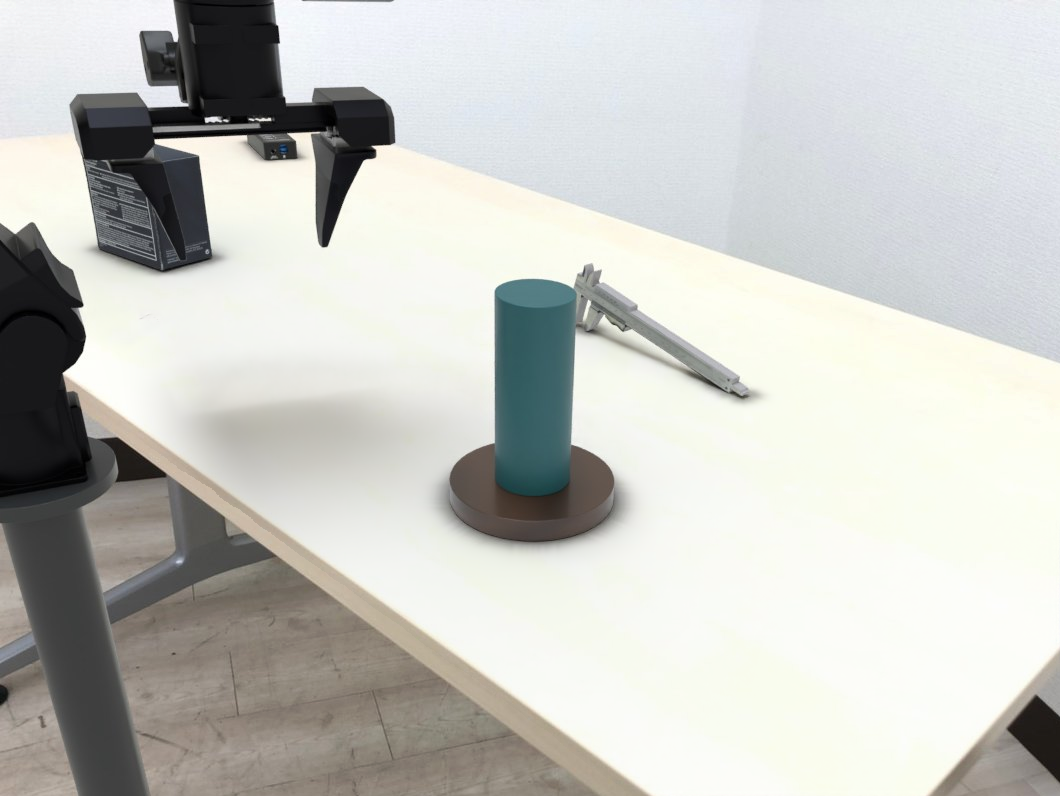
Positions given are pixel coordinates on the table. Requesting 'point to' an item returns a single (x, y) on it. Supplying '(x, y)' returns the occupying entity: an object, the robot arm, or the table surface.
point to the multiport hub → (274, 146)
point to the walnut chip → (531, 499)
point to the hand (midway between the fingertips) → (254, 252)
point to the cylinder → (534, 385)
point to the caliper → (645, 328)
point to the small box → (149, 211)
